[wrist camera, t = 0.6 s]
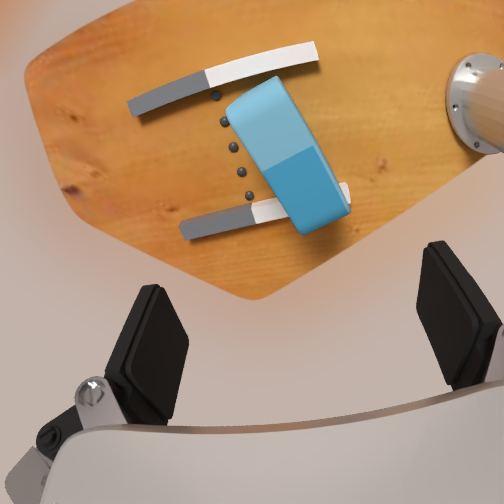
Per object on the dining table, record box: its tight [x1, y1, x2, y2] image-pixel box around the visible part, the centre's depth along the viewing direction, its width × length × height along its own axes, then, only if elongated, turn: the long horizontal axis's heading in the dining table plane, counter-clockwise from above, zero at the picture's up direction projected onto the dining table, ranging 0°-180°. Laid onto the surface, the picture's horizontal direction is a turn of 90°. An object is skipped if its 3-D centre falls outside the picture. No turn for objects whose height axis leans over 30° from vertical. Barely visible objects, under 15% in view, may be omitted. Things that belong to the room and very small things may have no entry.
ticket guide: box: [127, 41, 351, 241], centre depth 32 cm, size 20×18×2 cm
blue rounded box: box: [225, 76, 351, 235], centre depth 27 cm, size 12×4×12 cm, turn 32°
